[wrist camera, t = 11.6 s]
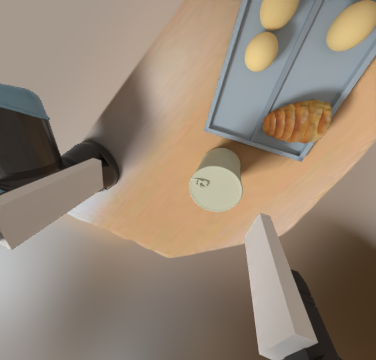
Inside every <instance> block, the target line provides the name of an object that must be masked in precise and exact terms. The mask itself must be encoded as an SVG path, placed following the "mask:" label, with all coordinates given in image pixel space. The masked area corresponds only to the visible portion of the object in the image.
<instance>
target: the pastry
mask: <svg viewBox="0 0 376 360" xmlns="http://www.w3.org/2000/svg"><path fill="white" fill-rule="evenodd" d="M331 115H332V108H331V106H330V103H329V102H322V101H319V100H316V99H312V100H308V101H299V102H295V103H292V104H290V105H287V106H284V107H280V108H278V109H275V110H273V111H272V112H270V113H269V114H267V115H266V116H265V117H264V119H263V123H262V130H263V131H264V133H265V134H266V135H267V136H270V137H273V138H275V139H277V140H283V141H286V142H288V143H292V142H301V143H304V144H305V143H308V142H312V143H313V142H316V141H318V140H319V139H321V138H322V136H324V135H325V133H326V132H327V130H328V127H329V125H330V123H331Z"/></svg>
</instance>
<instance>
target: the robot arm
mask: <svg viewBox="0 0 376 360" xmlns="http://www.w3.org/2000/svg"><path fill="white" fill-rule="evenodd" d="M118 177H119V171H118V167H117V164H116V162H115V160H114V158H113V157H112V155H111V154H110V153H109V152H108V151H107V150H106V149H105V148H104V147H102V146H101V145H99V144H97V143H94V142H84V143H80V144H77V145H75V146H74V147H73V148H72V149H70V150H69V151H67V152H66V153H65V154H63V155H62V156H60V153H59V150H58V147H57V144H56V141H55V138H54V135H53V132H52V129H51V126H50V123H49V117H48V116H47V114H46V112H45V109H44V107H43V105H42V102H41V100H40V98H39V97H38V96H37V95H36V94H35V93H34V92H32V91H30V90H28V89H25V88H20V87H14V86H10V85H4V84H0V245H2V246H4V247H6V248H9V249H11V250H12V249H14V248H15V247H17V246H18V245H20V244H21V243H23V242H24V241H26V240H27V239H29V238H30V237H32V236H33V235H35V234H36V233H38V232H39V231H40V230H42V229H43V228H45V227H46V226H48V225H49V224H51V223H52V222H54V221H55V220H57V219H58V218H60V217H61V216H63V215H64V214H66V213H67V212H69V211H70V210H72V209H73V208H74V207H76V206H77V205H79V204H80V203H82V202H83V201H85V200H86V199H88V198H89V197H91V196H92V195H94V194H95V193H97V192H100V191H104V190H107V189H109V188H111V187H112V186H114V185H115V184H116V183H117V181H118ZM244 238H245V246H246V254H247V261H248V269H249V277H250V285H251V293H252V300H253V309H254V316H255V324H256V332H257V340H258V348H259V354H260V355H262V356H265V357H267V358H269V359H272V360H281V359H283V358H284V359H285V360H342V359H341V358H340V357H339V356H338V354H337V352H336V350H335V349H334V346H333V344H332V341H331V339H330V337H329V335H328V332H327V330H326V328H325V325H324V323H323V321H322V318H321V316H320V314H319V312H318V309H317V308H316V307H315V303H314V300H313V298H312V297H311V294H310V291H309V289H308V287H307V285H306V282H305V281H304V280H303V278H302V277H301V275H300V274H299V273H298V272H297V271H294V270H291V269H290V267H289V265H288V262H287V260H286V257H285V254H284V252H283V249H282V246H281V244H280V241H279V238H278V236H277V233H276V230H275V228H274V225H273V222H272V220H271V217H270V216H268V215H265V214H262V213H259V214H258V216H257V218H256V219H255V221H254V222H253V224H252V226H251V227H250V229H249V230H248V232H247V234H246V235H245V237H244Z"/></svg>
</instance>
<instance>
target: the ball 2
mask: <svg viewBox="0 0 376 360" xmlns="http://www.w3.org/2000/svg"><path fill="white" fill-rule="evenodd" d="M298 3H299V0H263V1H262V4H261V8H260V21H261V24H262V26H263V27H264V28H265V29H267V30H270V31H274V30H278V29H280V28H281V27H283V26H284V25H286V24H287V23H288V21H289V20H290V19H291V18H292V16H293V15H294V13H295V11H296V9H297V6H298Z"/></svg>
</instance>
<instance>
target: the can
mask: <svg viewBox="0 0 376 360" xmlns="http://www.w3.org/2000/svg"><path fill="white" fill-rule="evenodd" d="M240 168H241V164H240V160H239V158H238V156H237V155H236V154H235V153H234V152H233V151H232V150H230V149H227V148H214V149H212V150H210V151H208V152H207V153H206V154H205V155H204V157H203V159H202V162H201V164H200V165H199V167H198V169H197V170H196V172H195V173H194V175H193V176H192V178H191V180H190V184H189V190H190V194H191V196H192V198H193V200H194V201H195V202H196V203H197V204H198V205H199V206H201V207H202V208H204V209H206V210H209V211H214V212H222V211H226V210H229V209H231V208H233V207H234V206H236V205H237V204H238V202H239V201H240V199H241V197H242V193H243V188H242V183H241V174H240Z"/></svg>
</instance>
